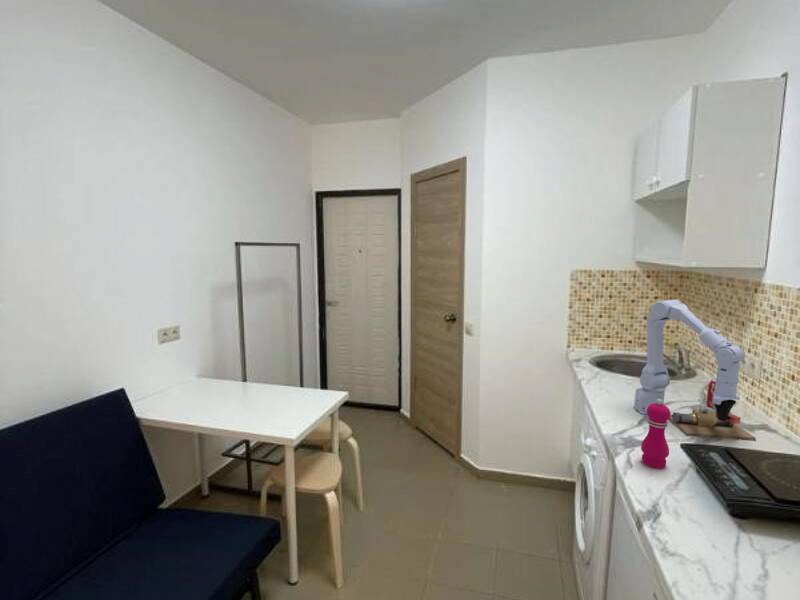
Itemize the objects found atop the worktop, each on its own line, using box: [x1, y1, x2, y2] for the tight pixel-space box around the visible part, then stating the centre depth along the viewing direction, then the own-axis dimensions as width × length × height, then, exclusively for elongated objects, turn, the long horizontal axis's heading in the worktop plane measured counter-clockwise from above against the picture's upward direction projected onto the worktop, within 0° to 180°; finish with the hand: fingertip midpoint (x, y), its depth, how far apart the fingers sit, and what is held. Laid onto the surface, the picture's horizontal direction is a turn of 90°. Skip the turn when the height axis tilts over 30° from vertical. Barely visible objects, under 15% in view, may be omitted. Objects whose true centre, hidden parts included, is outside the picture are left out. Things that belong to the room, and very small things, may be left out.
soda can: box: [705, 377, 716, 410], centre depth 170 cm, size 7×7×12 cm
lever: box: [698, 405, 741, 424], centre depth 149 cm, size 13×3×2 cm, turn 19°
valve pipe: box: [672, 408, 734, 427], centre depth 154 cm, size 18×5×5 cm, turn 81°
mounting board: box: [668, 414, 756, 441], centre depth 154 cm, size 21×16×1 cm
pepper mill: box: [640, 399, 672, 470], centre depth 128 cm, size 7×7×20 cm
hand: (721, 420), depth 146 cm, fingers closed
